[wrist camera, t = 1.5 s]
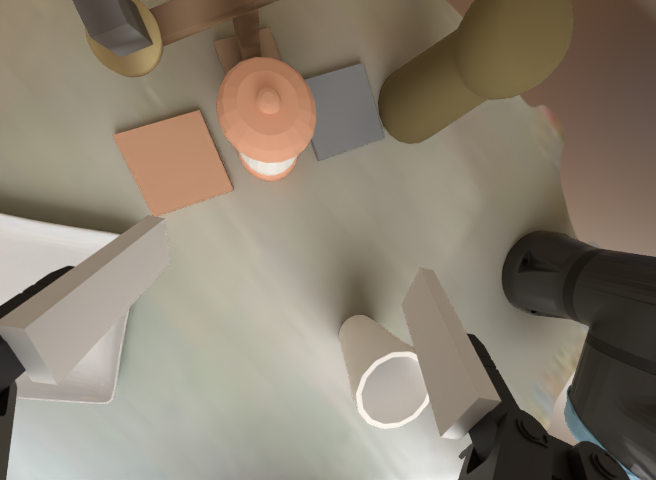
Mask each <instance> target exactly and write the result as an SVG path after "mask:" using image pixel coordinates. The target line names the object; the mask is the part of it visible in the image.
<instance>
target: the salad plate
mask: <svg viewBox="0 0 656 480" xmlns="http://www.w3.org/2000/svg"><path fill="white" fill-rule="evenodd" d="M120 235H121V234H117V233H111V232H105V231H99V230H92V229H85V228H79V227H73V226H67V225H61V224H55V223H49V222H43V221H38V220H33V219H27V218H23V217H18V216H13V215H8V214H3V213H0V306H1V305H2V304H4V303H5V302H7V301H8V300H10V299H11V298H13V297H14V296H16V295H17V294H19V293H22V292H23V290H25V289H26V288H28V287H29V286H31V285H35V283H36V282H37V281H39V280H40V279H42V278H43V277H45V276H46V275H48V274H49V273H51V272H53V271H56V270H58V269H61V268H63V267H66V266H68V265H69V266H74V267H76V266H77V265H78V264H80V263H81V262H83V261H84V260H86V259H87V258H88V257H90V256H91V255H93V254H94V253H96V252H97V251H98V250H100V249H101V248H103V247H104V246H106V245H107V244H108V243H110V242H111V241H113V240H114V239H115V238H117V237H118V236H120ZM129 311H130V308H129V309H128V310H127V311H126V312H125V313H124V314H123V315H122V316H121V317H120V318H119V319H118V321H117V322H116V323H115V324H114V325H113V326H112V327H111V328H110V329H109V330H108V331H107V332H106V334H105V335H104V336H103V337H102V338H101V339H100V340H99V341H98V342H97V343H96V344H95V345H94V347H93V348H92V349H91V350H90V351H89V352H88V353H87V354H86V355H85V356H84V357H83V358H82V360H81V361H80V362H79V363H78V364H77V365H76V366H75V367H74V368H73V369H72V370H71V371H70V373H69V374H68V375H67V376H66V377H65V378H64V379H63V380H62V381H61V382H60V383H59V384H58V385H53V384H46V383H39V382H32V380H31V379H30V377H29V376H28V374H27V373H26V372H24V373H23V374H21V375H20V376H19V377H18V378H17V379H16V380H15V381H16V384H17V396H16V398H18V399H33V400H48V401H62V402H77V403H93V404H107V403H110V402H111V401H112V400H113V398H114V396H115V393H116V387H117V382H118V375H119V368H120V360H121V353H122V347H123V341H124V335H125V330H126V325H127V320H128V315H129Z"/></svg>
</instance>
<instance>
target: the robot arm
mask: <svg viewBox="0 0 656 480" xmlns="http://www.w3.org/2000/svg"><path fill="white" fill-rule="evenodd" d="M170 263H171V262H170V255H169V247H168V240H167V232H166V225H165V218H159V217H154V216H149V215H148V216H147V217H145V218H144V219H143V220H141V221H140V222H138V223H137V224H135V225H134V226H133V227H131V228H130V229H128V230H127V231H125V232H124V233H123V234H121V235H120V236H118V237H117V238H115V239H114V240H113V241H111V242H110V243H108V244H107V245H106V246H104V247H103V248H101V249H100V250H98V251H97V252H96V253H94V254H93V255H91V256H90V257H88V258H87V259H86V260H84V261H83V262H81V263H80V264H78V265H77V266H76V267H74V266H69V265H68V266H66V267H63V268H61V269H58V270H56V271H53V272H51V273H49V274H48V275H46V276H45V277H43V278H42V279H40V280H39V281H37V282H36V283H35V285H31V286H29V287H28V288H26V289H25V290H23V292H22V293H19V294H17V295H16V296H14V297H13V298H11V299H10V300H8V301H7V302H5V303H4V304H2V305H1V306H0V480H6V476H7V468H8V460H9V452H10V444H11V436H12V428H13V420H14V412H15V404H16V396H17V384H16V381H15V380H16V379H17V378H18V377H19V376H20V375H21V374H23V373H24V372H26V373H27V374H28V376H29V377H30V379H31V380H32V382H39V383H46V384H53V385H58V384H59V383H60V382H61V381H62V380H63V379H64V378H65V377H66V376H67V375H68V374H69V373H70V371H71V370H72V369H73V368H74V367H75V366H76V365H77V364H78V363H79V362H80V361H81V360H82V358H83V357H84V356H85V355H86V354H87V353H88V352H89V351H90V350H91V349H92V348H93V347H94V345H95V344H96V343H97V342H98V341H99V340H100V339H101V338H102V337H103V336H104V335H105V334H106V332H107V331H108V330H109V329H110V328H111V327H112V326H113V325H114V324H115V323H116V322H117V321H118V319H119V318H120V317H121V316H122V315H123V314H124V313H125V312H126V311H127V310H128V309H129V308H130V306H131V305H132V304H133V303H134V302H135V301H136V300H137V299H138V298H139V297H140V296H141V295H142V293H143V292H144V291H145V290H146V289H147V288H148V287H149V286H150V285H151V284H152V283H153V282H154V281H155V279H156V278H157V277H158V276H159V275H160V274H161V273H162V272H163V271H164V270H165V269H166V268H167V266H168V265H169V264H170ZM502 283H503V289H504V293H505V295H506V297H507V299H508V300H509V302H510V303H511V304H512V305H513V306H514V307H516V308H518V309H520V310H522V311H525V312H527V313H529V314H532V315H537V316H545V317H554V318H563V319H571V320H574V321H577V322H580V323H582V324H585V325H587V326H589V330H588V334H587V337H586V340H585V343H584V346H583V349H582V353H581V356H580V359H579V362H578V365H577V368H576V372H575V375H574V378H573V381H572V385H570V386H569V388H568V390H567V402H566V406H565V411H564V415H565V420H566V423H567V426H568V428H569V429H570V431H571V433H572V434H573V436H574V437H575V439H576V440H577V441H578V442H579V443H578V444H576V445H574V446H572V445H570V444H568V443H566V442H564V441H561V440H559V439H557V438H555V437H553V436H551V435H549V434H548V433H547V431H546V430H545V429H544V427H543V426H542V425H541V424H540V423H539V422H538V421H537V420H536V419H535V418H534V417H533V416H532V415H530V414H528V413H527V412H525V411H523V410H520V408H519V407H518V405H517V403H516V401H515V400H514V398H513V396H512V394H511V392H510V391H509V389H508V387H507V385H506V384H505V382H504V380H503V378H502V376H501V375H500V373H499V371H498V370H497V369H496V366H495V364H494V362H493V360H491V357H490V355H489V353H488V352H487V350H486V348H485V346H484V345H483V344H482V343H481V342H480V341H479V340H478V338H477V337H476V336H475V335H473V334H467V333H466V332H465V330H464V328H463V326H462V324H461V322H460V320H459V318H458V316H457V314H456V312H455V311H454V309H453V307H452V305H451V303H450V301H449V299H448V297H447V295H446V293H445V291H444V289H443V287H442V285H441V284H440V282H439V280H438V278H437V276H436V274H435V272H434V270H430V269H425V268H420V269H419V271H418V273H417V275H416V277H415V279H414V281H413V283H412V285H411V287H410V289H409V291H408V293H407V295H406V297H405V299H404V301H403V303H402V307H403V311H404V314H405V318H406V321H407V324H408V328H409V331H410V335H411V338H412V341H413V345H414V348H415V352H416V355H417V358H418V362H419V365H420V369H421V372H422V375H423V379H424V382H425V386H426V389H427V392H428V396H429V399H430V403H431V406H432V409H433V413H434V416H435V420H436V423H437V426H438V430H439V433H440V437H443V438H451V439H458V440H461V439H462V438H463V437H464V436H465V435H466V434H467V433H468V432H469V435H470V437H471V440H472V444H470V445H469V446H468V447H467V448H466V449H465V450H464V451H463V452H461V454H460V455H459V458H460V459H462V458H464V457H465V456H466V457H465V460H464V463H463V466H462V469H461V472H460V476H459V479H458V480H656V257H652V256H646V255H639V254H633V253H626V252H618V251H612V250H605V249H599V248H595V247H593V246H591V245H588V244H586V243H584V242H581V241H579V240H576V239H574V238H571V237H569V236H567V235H565V234H562V233H558V232H549V231H537V232H533V233H531V234H528V235H527V236H525V237H523V238H522V239H521V240H520V241H519V242H518V243H517V244H516V245H515V246H514V247H513V249H512V250H511V251H510V253H509V255H508V257H507V259H506V262H505V265H504V269H503V275H502Z"/></svg>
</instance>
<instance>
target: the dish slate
mask: <svg viewBox="0 0 656 480" xmlns="http://www.w3.org/2000/svg"><path fill="white" fill-rule="evenodd" d="M305 82H306V83H307V84H308V86H309V88H310V91H311V93H312V96H313V98H314V101H315V106H316V119H317V121H316V125H315V130H314V134H313V136H312V138H311V143H312V146H313V149H314V151H315V154H316V157H317V160H318V161H320V160H323V159H326V158H329V157H332V156H334V155H337V154H340V153H343V152H346V151H349V150H352V149H355V148H358V147H361V146H363V145H366V144H369V143H372V142H375V141H378V140H381V139H383V138H384V135H383V131H382V128H381V124H380V121H379V117H378V114H377V110H376V107H375V103H374V100H373V96H372V93H371V89H370V86H369V82H368V79H367V75H366V72H365V68H364V65H363V63H360V64H357V65H353V66H350V67H346V68H343V69H339V70H336V71H332V72H329V73H325V74H322V75H319V76H315V77H312V78H308V79H305Z"/></svg>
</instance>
